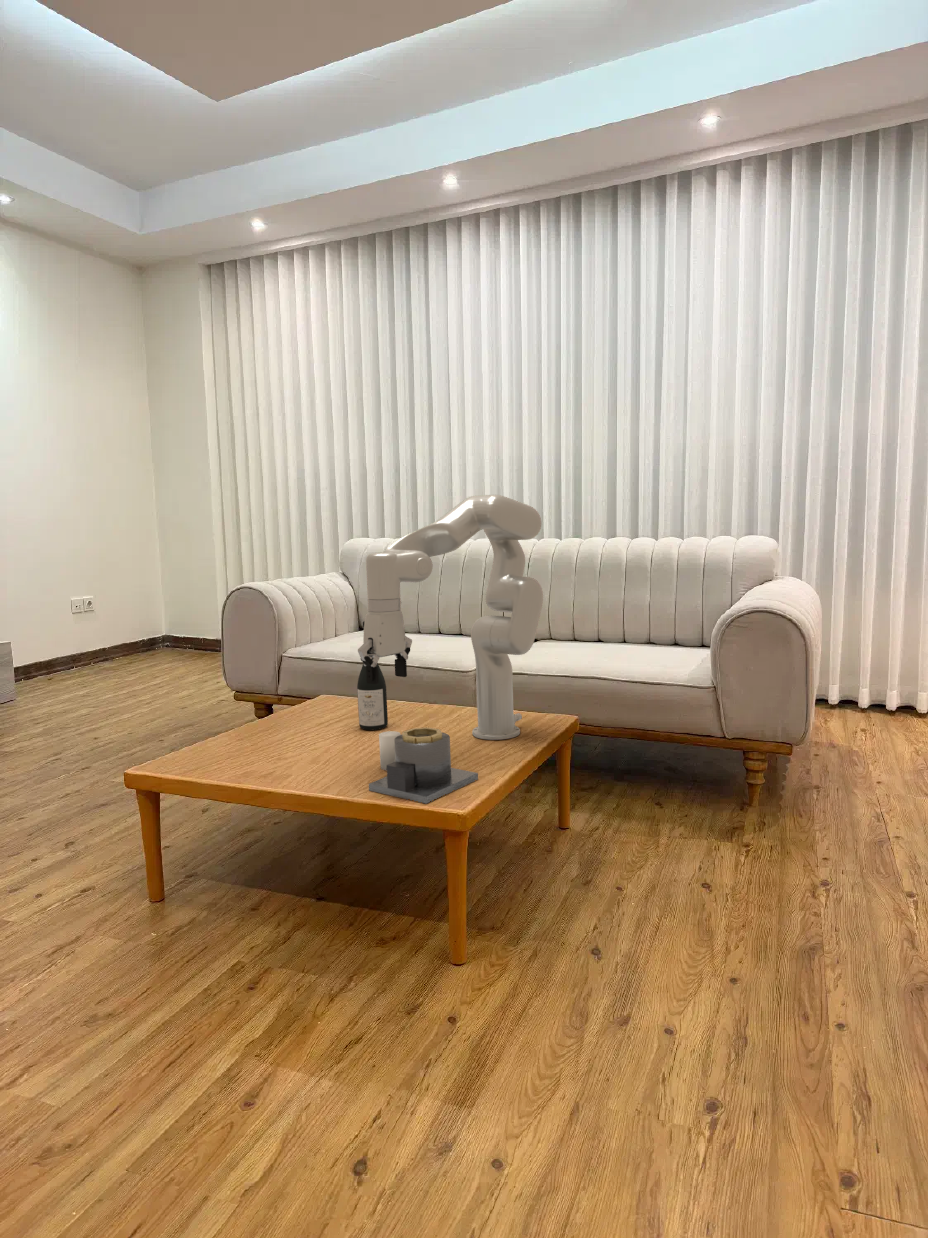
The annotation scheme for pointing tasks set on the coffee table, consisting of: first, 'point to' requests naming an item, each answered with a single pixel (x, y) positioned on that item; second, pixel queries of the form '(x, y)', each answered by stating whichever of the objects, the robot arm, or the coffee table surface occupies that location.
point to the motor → (422, 767)
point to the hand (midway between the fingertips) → (387, 679)
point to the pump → (387, 748)
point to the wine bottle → (372, 701)
